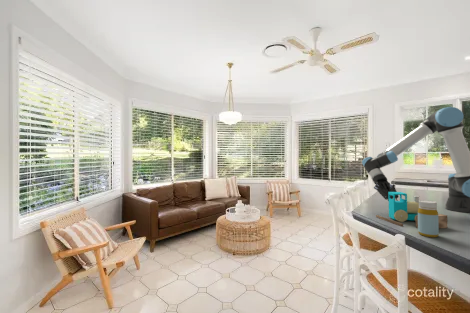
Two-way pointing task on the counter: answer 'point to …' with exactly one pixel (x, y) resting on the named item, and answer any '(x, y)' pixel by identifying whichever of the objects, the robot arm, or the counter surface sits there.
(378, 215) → the rail far
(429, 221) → the bottle
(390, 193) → the toy train
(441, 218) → the buffer stop
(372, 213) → the counter surface
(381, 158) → the robot arm
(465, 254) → the counter surface
